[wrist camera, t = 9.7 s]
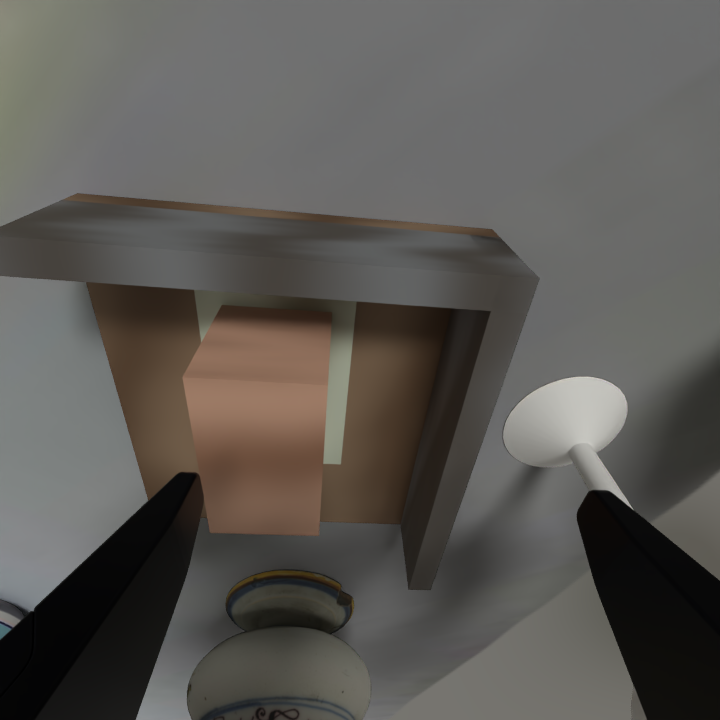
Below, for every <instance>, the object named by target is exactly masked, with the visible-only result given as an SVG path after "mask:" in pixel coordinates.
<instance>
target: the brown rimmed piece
mask: <svg viewBox="0 0 720 720" xmlns="http://www.w3.org/2000/svg"><path fill="white" fill-rule="evenodd" d="M0 276H9V277H23V278H37V279H51V280H65V281H79V282H86V284H87V288H88V291H89V294H90V298H91V301H92V305H93V308H94V312H95V315H96V319H97V322H98V326H99V329H100V333H101V336H102V340H103V343H104V347H105V350H106V354H107V357H108V361H109V364H110V368H111V371H112V375H113V378H114V382H115V385H116V389H117V392H118V396H119V399H120V403H121V406H122V410H123V413H124V417H125V420H126V424H127V427H128V431H129V434H130V438H131V441H132V445H133V448H134V452H135V455H136V459H137V462H138V466H139V469H140V473H141V476H142V480H143V483H144V487H145V490H146V494H147V497H148V501H149V500H150V499H151V498H152V497H153V496H154V495H155V494H156V493H157V492H158V491H159V490H160V489H161V488H162V487H163V486H165V485H166V484H167V483H168V482H169V481H170V480H171V479H172V478H173V477H174V476H175V475H176V474H178V473H179V472H197V473H198V474H199V468H198V463H197V457H196V451H195V446H194V440H193V434H192V429H191V423H190V418H189V412H188V406H187V401H186V395H185V389H184V384H183V378H182V377H183V375H184V373H185V372H186V370H187V368H188V366H189V364H190V362H191V361H192V359H193V357H194V355H195V353H196V351H197V350H198V348H199V346H200V344H201V342H202V340H203V338H204V337H205V335H206V333H207V331H208V329H209V327H210V326H211V324H212V322H213V320H214V318H215V316H216V315H217V313H218V311H219V309H220V307H221V305H231V306H245V307H260V308H275V309H290V310H305V311H320V312H332V323H331V340H330V358H329V375H328V392H327V409H326V426H325V442H324V459H323V476H322V492H321V509H320V522H348V523H379V524H401V532H402V540H403V548H404V556H405V565H406V573H407V581H408V589H409V590H431V587H432V584H433V581H434V579H435V576H436V573H437V570H438V567H439V564H440V561H441V559H442V556H443V553H444V550H445V547H446V544H447V541H448V539H449V536H450V533H451V530H452V527H453V524H454V522H455V519H456V516H457V513H458V510H459V507H460V504H461V502H462V499H463V496H464V493H465V490H466V487H467V484H468V482H469V479H470V476H471V473H472V470H473V467H474V464H475V462H476V459H477V456H478V453H479V450H480V447H481V445H482V442H483V439H484V436H485V433H486V430H487V427H488V425H489V422H490V419H491V416H492V413H493V410H494V407H495V405H496V402H497V399H498V396H499V393H500V390H501V387H502V385H503V382H504V379H505V376H506V373H507V370H508V367H509V365H510V362H511V359H512V356H513V353H514V350H515V348H516V345H517V342H518V339H519V336H520V333H521V330H522V328H523V325H524V322H525V319H526V316H527V313H528V310H529V308H530V305H531V302H532V299H533V296H534V293H535V290H536V288H537V285H538V282H539V278H538V276H537V275H536V274H535V273H534V272H533V271H532V270H531V269H530V268H529V267H528V266H527V265H526V264H525V263H524V262H523V261H522V260H521V259H520V258H519V257H518V256H517V255H516V254H515V253H514V252H513V250H512V249H511V248H510V247H509V246H508V245H507V244H506V243H505V242H504V241H503V240H502V239H501V238H500V237H499V236H498V235H497V234H496V233H495V232H494V231H493V230H492V229H481V228H470V227H458V226H447V225H435V224H423V223H412V222H400V221H389V220H377V219H366V218H354V217H343V216H331V215H320V214H308V213H297V212H285V211H274V210H262V209H251V208H239V207H228V206H216V205H205V204H193V203H181V202H170V201H158V200H147V199H135V198H124V197H112V196H101V195H89V194H78V193H77V194H75V195H73V196H70V197H68V198H66V199H63V200H61V201H59V202H56V203H54V204H52V205H50V206H47V207H45V208H43V209H40V210H38V211H36V212H33V213H31V214H29V215H27V216H24V217H22V218H20V219H17V220H15V221H13V222H10V223H8V224H6V225H3V226H1V227H0ZM199 475H200V474H199ZM201 518H207V513H206V508H205V502H204V504H203V509H202V513H201Z"/></svg>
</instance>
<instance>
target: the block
mask: <svg viewBox="0 0 720 720" xmlns="http://www.w3.org/2000/svg"><path fill="white" fill-rule="evenodd" d="M331 323H332V312H320V311H305V310H290V309H275V308H260V307H245V306H231V305H221V307H220V309H219V311H218V313H217V315H216V316H215V318H214V320H213V322H212V324H211V326H210V327H209V329H208V331H207V333H206V335H205V337H204V338H203V340H202V342H201V344H200V346H199V348H198V350H197V351H196V353H195V355H194V357H193V359H192V361H191V362H190V364H189V366H188V368H187V370H186V372H185V373H184V375H183V377H182V378H183V384H184V389H185V395H186V401H187V406H188V412H189V418H190V423H191V429H192V434H193V440H194V446H195V451H196V457H197V463H198V468H199V474H200V479H201V484H202V489H203V494H204V502H205V508H206V513H207V519H208V525H209V530H210V533H230V534H266V535H301V536H319V526H320V509H321V492H322V476H323V459H324V442H325V426H326V409H327V392H328V375H329V358H330V340H331Z"/></svg>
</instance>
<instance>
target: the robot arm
mask: <svg viewBox="0 0 720 720" xmlns="http://www.w3.org/2000/svg"><path fill="white" fill-rule="evenodd" d="M203 504H204V494H203V489H202V484H201V479H200V475H199V474H198V473H197V472H179V473H178V474H176V475H175V476H174V477H173V478H172V479H171V480H170V481H169V482H168V483H167V484H166V485H165V486H163V487H162V488H161V489H160V490H159V491H158V492H157V493H156V494H155V495H154V496H153V497H152V498H151V499H150V500H149V501H148V502H146V503H145V504H144V505H143V506H142V507H141V508H140V509H139V510H138V511H137V512H136V513H135V514H134V515H133V516H132V517H130V518H129V519H128V520H127V521H126V522H125V523H124V524H123V525H122V526H121V527H120V528H119V529H118V530H117V531H116V532H115V533H113V534H112V535H111V536H110V537H109V538H108V539H107V540H106V541H105V542H104V543H103V544H102V545H101V546H100V547H99V548H98V549H96V550H95V551H94V552H93V553H92V554H91V555H90V556H89V557H88V558H87V559H86V560H85V561H84V562H83V563H82V564H80V565H79V566H78V567H77V568H76V569H75V570H74V571H73V572H72V573H71V574H70V575H69V576H68V577H67V578H66V579H65V580H63V581H62V582H61V583H60V584H59V585H58V586H57V587H56V588H55V589H54V590H53V591H52V592H51V593H50V594H49V595H48V596H46V597H45V598H44V599H43V600H42V601H41V602H40V603H39V604H38V605H37V606H36V607H35V608H34V611H31V612H29V613H28V614H27V615H26V616H25V617H24V618H23V619H22V620H21V621H20V622H19V623H18V624H16V625H15V626H14V627H13V628H12V629H11V630H10V631H9V632H8V633H7V634H6V635H5V636H3V637H2V638H1V639H0V720H136V717H137V714H138V711H139V708H140V706H141V703H142V700H143V697H144V694H145V692H146V689H147V686H148V683H149V680H150V677H151V675H152V672H153V669H154V666H155V663H156V661H157V658H158V655H159V652H160V649H161V646H162V644H163V641H164V638H165V635H166V632H167V629H168V627H169V624H170V621H171V618H172V615H173V613H174V610H175V607H176V604H177V601H178V598H179V596H180V593H181V590H182V587H183V584H184V581H185V578H186V575H187V572H188V568H189V564H190V560H191V556H192V551H193V547H194V543H195V539H196V535H197V530H198V526H199V522H200V518H201V513H202V509H203ZM577 522H578V526H579V529H580V533H581V537H582V540H583V544H584V547H585V551H586V555H587V558H588V562H589V566H590V569H591V573H592V576H593V579H594V583H595V586H596V589H597V591H598V594H599V597H600V599H601V602H602V605H603V607H604V610H605V613H606V615H607V618H608V620H609V623H610V625H611V628H612V630H613V633H614V636H615V638H616V641H617V644H618V646H619V649H620V651H621V654H622V656H623V659H624V662H625V664H626V667H627V669H628V672H629V675H630V677H631V680H632V682H633V685H634V688H635V690H636V693H637V695H638V698H639V701H640V703H641V706H642V708H643V711H644V713H645V716H646V719H647V720H720V581H719V580H718V579H717V578H716V577H715V576H713V575H712V574H711V573H710V572H708V571H707V570H706V569H705V568H704V567H702V566H701V565H700V564H699V563H698V562H696V561H695V560H694V559H693V558H691V557H690V556H689V555H688V554H687V553H685V552H684V551H683V550H682V549H680V548H679V547H678V546H677V545H676V544H674V543H673V542H672V541H670V540H669V539H668V538H667V537H666V536H665V535H663V534H662V533H661V532H660V531H658V530H657V529H656V528H655V527H654V526H652V525H651V524H650V523H649V522H648V521H646V520H645V519H644V518H643V517H641V516H640V515H639V514H638V513H637V512H635V511H634V510H633V509H632V508H630V507H629V506H628V505H627V504H626V503H624V502H623V501H622V500H621V499H619V498H618V497H617V496H616V495H615V494H613V493H612V492H610V491H608V490H591V491H589V492H588V493H587V495H586V497H585V499H584V500H583V502H582V504H581V506H580V507H579V509H578V511H577Z"/></svg>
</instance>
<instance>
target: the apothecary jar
mask: <svg viewBox="0 0 720 720" xmlns="http://www.w3.org/2000/svg"><path fill="white" fill-rule="evenodd" d="M353 609H354V601H353V598H352V597H351V596H349V595H347V594H345V593H343V592H342V591H341V585H340V584H339V583H338V582H336V581H334V580H333V579H330V578H328V577H326V576H323V575H320V574H317V573H311V572H305V571H295V570H277V571H269V572H264V573H260V574H256V575H253V576H251V577H248V578H246V579H244V580H243V581H241V582H239V583H238V584H237V585H235V586H234V587H233V588H232V589H231V590H230V592H229V594H228V596H227V598H226V610H227V613H228V615H229V617H230V618H231V619H232V621H233V622H234V623H235V624H236V625H237V626H238V627H240V628H241V629H243V630H245V631H246V632H243V633H240V634H237V635H235V636H233V637H230V638H229V639H227V640H225V641H223V642H222V643H220V644H219V645H217V646H216V647H215V648H214V649H212V650H211V651H210V652H209V653H208V654H207V655H206V656H205V657H204V658H203V659H202V660H201V661H200V663H199V664H198V665H197V667H196V668H195V670H194V672H193V674H192V676H191V678H190V681H189V684H188V690H187V705H188V710H189V713H190V716H191V719H192V720H362V719H363V717H364V715H365V713H366V711H367V709H368V706H369V702H370V697H371V681H370V676H369V673H368V670H367V668H366V666H365V664H364V662H363V661H362V659H361V658H360V657H359V655H358V654H357V653H356V652H355V651H354V650H353V649H352V648H351V647H350V646H349V645H348V644H347V643H345V642H344V641H342V640H341V639H339V638H337V637H335V636H333V635H331V634H332V633H334V632H336V631H337V630H339V629H341V628H342V627H343V626H344V625H345V624H346V623H347V622H348V621H349V619H350V618H351V616H352V613H353Z"/></svg>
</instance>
